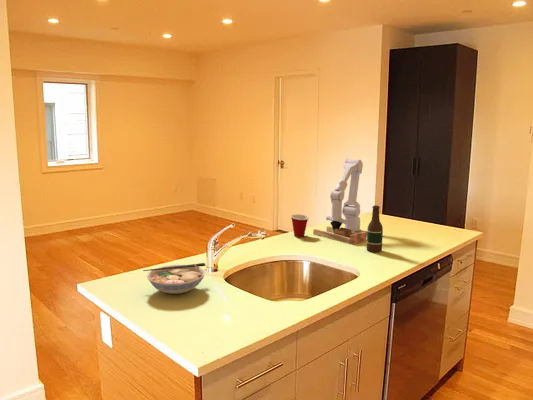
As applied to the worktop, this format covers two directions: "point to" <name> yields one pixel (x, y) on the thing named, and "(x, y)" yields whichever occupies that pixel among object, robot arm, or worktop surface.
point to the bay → (352, 240)
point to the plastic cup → (299, 224)
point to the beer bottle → (374, 232)
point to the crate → (343, 232)
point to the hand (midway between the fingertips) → (336, 233)
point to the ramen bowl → (176, 277)
